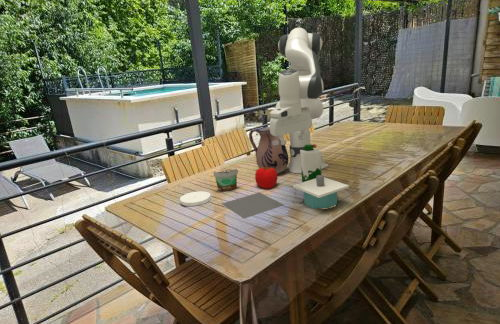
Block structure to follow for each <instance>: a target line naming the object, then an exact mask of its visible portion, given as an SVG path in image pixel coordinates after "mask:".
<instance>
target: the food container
mask: <svg viewBox="0 0 500 324" xmlns="http://www.w3.org/2000/svg"><path fill="white" fill-rule="evenodd" d="M238 174H239V171H238V168H237V167H236V168H235V169H232V170H231V169H230V170H229V169H228V170H222V171H220V172H216V171H214V172H213V177H214V178H215V181H216V186H217V190H218V191H219V192H222V193H224V192H231V191H234V190H236V189H237V188H238V185H237V179H238Z"/></svg>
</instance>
